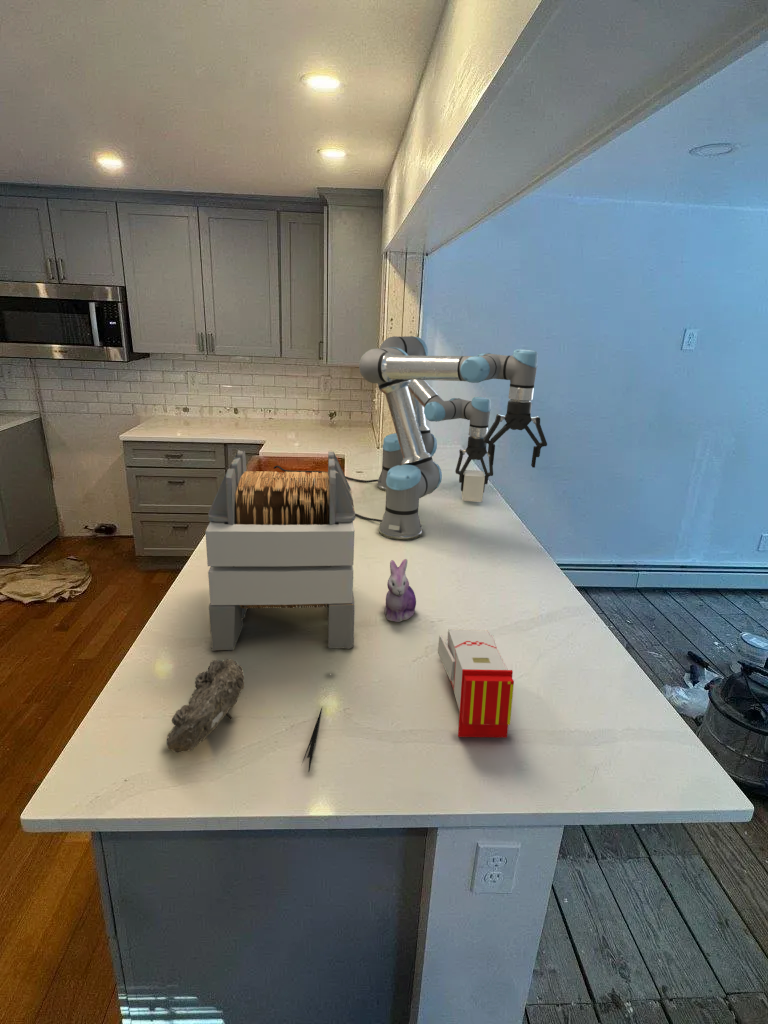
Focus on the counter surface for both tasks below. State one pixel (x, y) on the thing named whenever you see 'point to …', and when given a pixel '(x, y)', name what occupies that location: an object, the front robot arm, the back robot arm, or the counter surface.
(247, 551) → the record crate
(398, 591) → the figurine
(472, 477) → the brick
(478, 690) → the toy
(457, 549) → the counter surface
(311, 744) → the feather
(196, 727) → the fossil
